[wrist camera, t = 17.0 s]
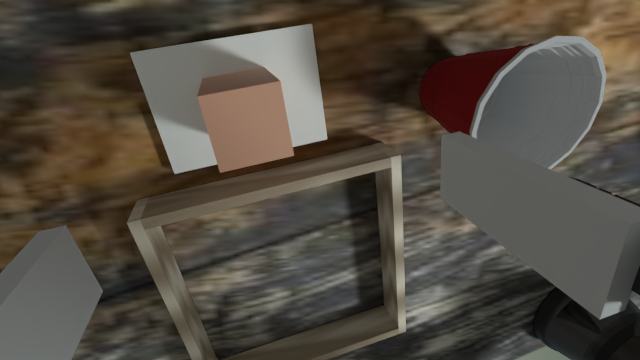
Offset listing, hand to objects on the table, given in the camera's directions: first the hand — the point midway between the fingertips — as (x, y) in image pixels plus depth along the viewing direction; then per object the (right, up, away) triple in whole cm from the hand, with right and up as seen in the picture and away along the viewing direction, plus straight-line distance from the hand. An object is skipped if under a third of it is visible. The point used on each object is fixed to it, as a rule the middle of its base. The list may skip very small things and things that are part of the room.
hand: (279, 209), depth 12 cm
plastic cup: (+14, +10, +22) cm, 28 cm away
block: (-5, +8, +16) cm, 19 cm away
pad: (-5, +8, +17) cm, 20 cm away
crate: (-2, -8, +26) cm, 27 cm away
